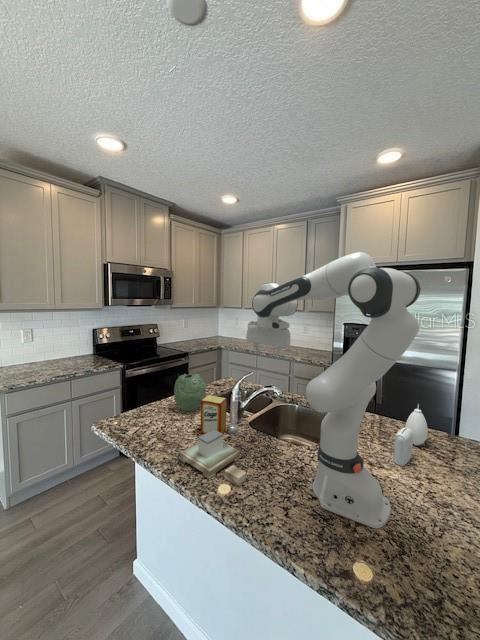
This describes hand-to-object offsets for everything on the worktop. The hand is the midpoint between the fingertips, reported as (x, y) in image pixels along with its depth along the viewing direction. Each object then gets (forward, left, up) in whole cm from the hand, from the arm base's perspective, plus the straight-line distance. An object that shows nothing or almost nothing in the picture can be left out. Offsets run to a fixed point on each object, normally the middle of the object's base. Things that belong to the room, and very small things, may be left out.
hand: (266, 355), depth 113 cm
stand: (+7, +25, -37) cm, 45 cm away
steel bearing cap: (+15, +4, -37) cm, 40 cm away
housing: (+7, +25, -34) cm, 42 cm away
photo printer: (-48, -25, -37) cm, 66 cm away
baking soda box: (+20, +10, -37) cm, 44 cm away
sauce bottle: (-50, -42, -37) cm, 75 cm away
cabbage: (+47, +2, -37) cm, 60 cm away
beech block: (-7, +27, -37) cm, 47 cm away
